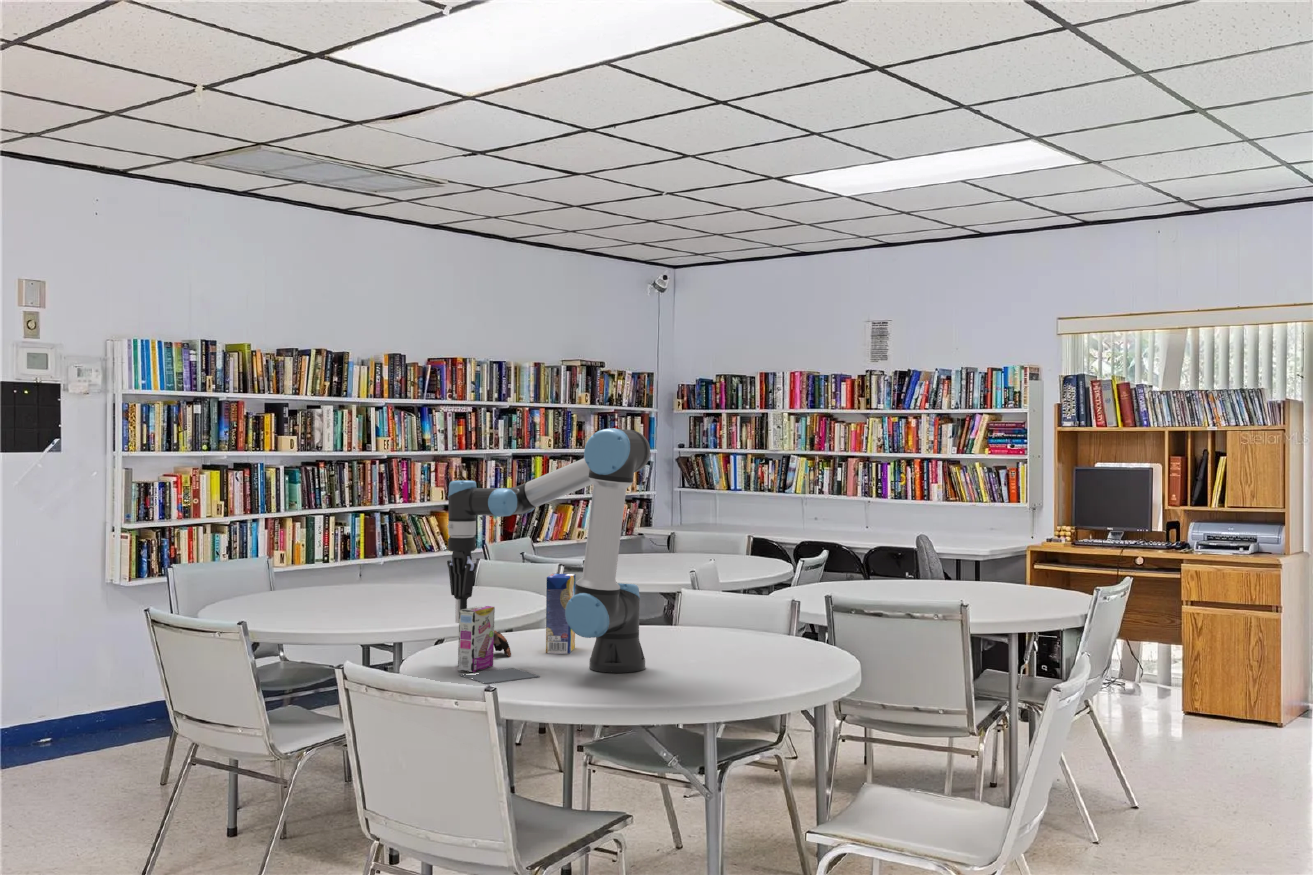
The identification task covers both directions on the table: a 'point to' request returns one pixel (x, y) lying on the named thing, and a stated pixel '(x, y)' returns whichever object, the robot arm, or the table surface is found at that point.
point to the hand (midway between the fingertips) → (461, 622)
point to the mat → (501, 675)
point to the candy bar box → (476, 638)
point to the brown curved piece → (501, 643)
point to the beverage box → (559, 613)
